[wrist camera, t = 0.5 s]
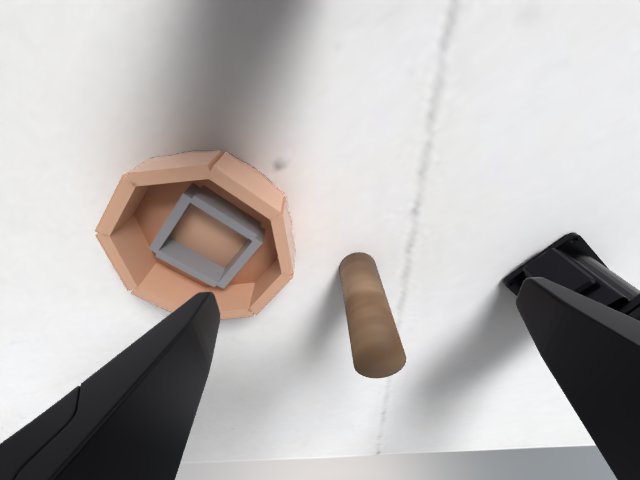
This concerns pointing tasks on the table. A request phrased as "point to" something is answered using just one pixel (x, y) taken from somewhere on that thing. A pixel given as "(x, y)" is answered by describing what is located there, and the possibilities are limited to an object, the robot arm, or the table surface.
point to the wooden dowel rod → (370, 319)
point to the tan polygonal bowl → (199, 232)
